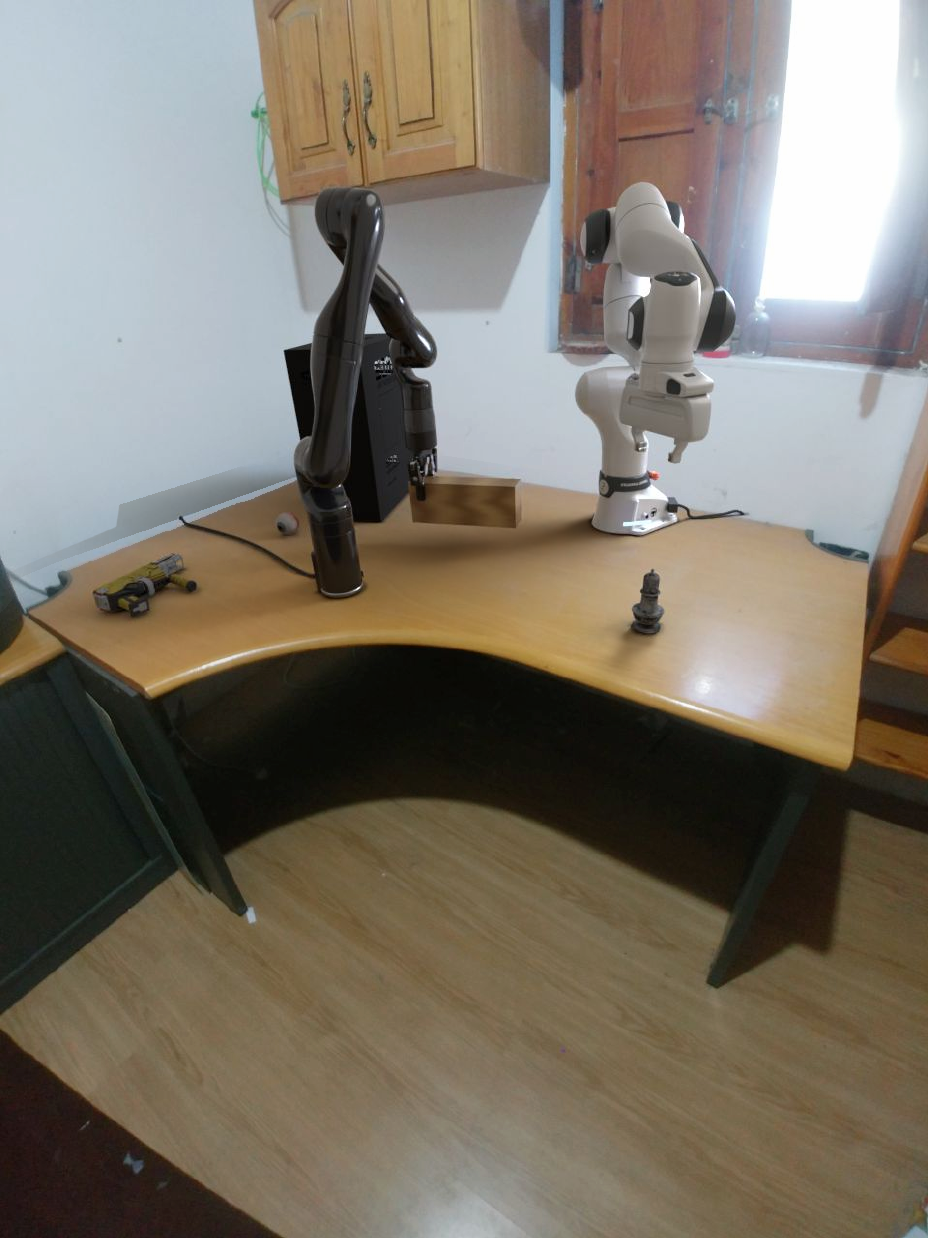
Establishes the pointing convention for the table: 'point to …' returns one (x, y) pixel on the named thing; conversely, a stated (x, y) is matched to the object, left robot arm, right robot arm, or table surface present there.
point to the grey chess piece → (648, 605)
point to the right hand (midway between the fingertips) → (656, 456)
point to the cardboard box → (363, 428)
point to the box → (468, 501)
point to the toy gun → (141, 586)
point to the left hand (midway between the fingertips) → (426, 495)
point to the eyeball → (287, 523)
